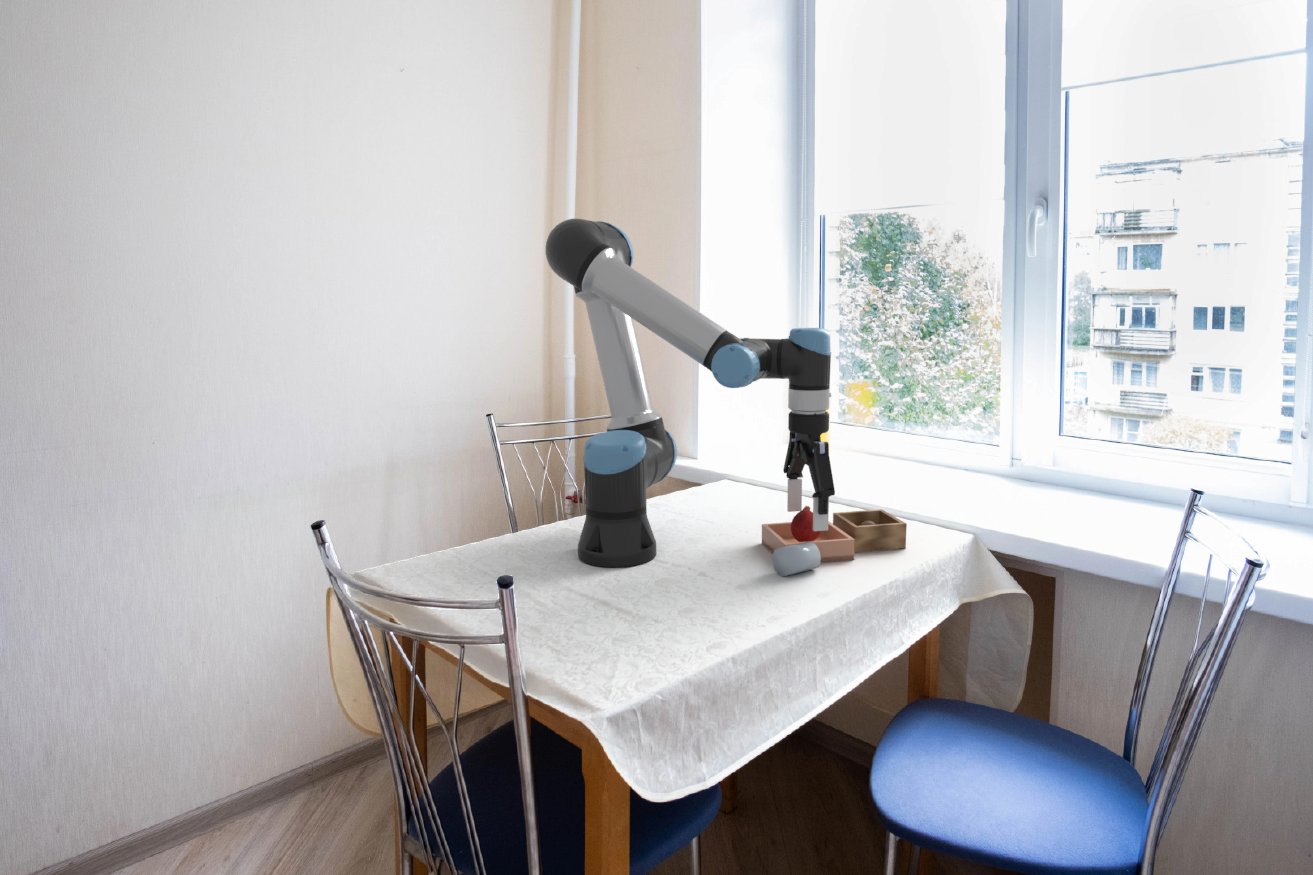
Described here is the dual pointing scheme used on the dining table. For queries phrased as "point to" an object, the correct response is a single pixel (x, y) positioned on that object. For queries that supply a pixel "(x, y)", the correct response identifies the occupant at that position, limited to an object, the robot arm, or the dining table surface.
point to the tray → (829, 541)
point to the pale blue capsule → (796, 558)
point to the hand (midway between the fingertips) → (806, 520)
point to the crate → (872, 530)
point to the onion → (804, 526)
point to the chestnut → (867, 523)
